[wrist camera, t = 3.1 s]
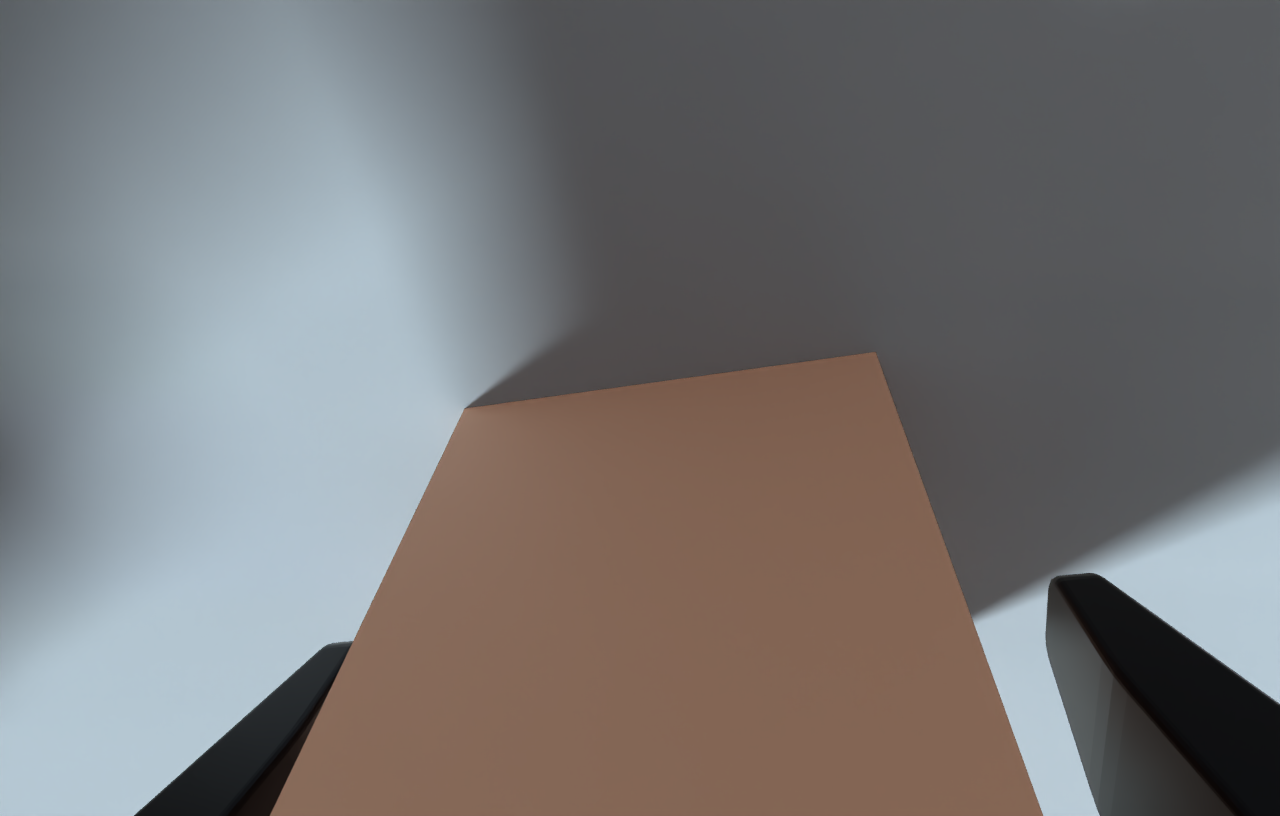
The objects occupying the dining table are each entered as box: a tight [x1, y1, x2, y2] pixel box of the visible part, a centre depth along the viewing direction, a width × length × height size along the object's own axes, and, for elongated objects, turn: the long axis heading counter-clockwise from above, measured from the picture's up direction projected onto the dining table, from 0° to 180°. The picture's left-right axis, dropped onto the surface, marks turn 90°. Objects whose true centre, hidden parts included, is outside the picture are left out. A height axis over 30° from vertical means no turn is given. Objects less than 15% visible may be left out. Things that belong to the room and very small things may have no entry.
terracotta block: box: [270, 352, 1043, 816], centre depth 7 cm, size 4×4×7 cm
